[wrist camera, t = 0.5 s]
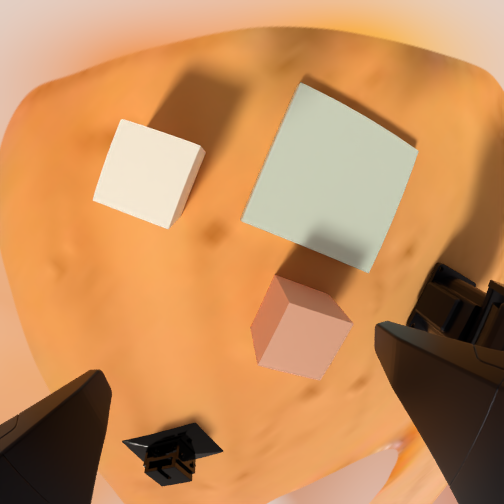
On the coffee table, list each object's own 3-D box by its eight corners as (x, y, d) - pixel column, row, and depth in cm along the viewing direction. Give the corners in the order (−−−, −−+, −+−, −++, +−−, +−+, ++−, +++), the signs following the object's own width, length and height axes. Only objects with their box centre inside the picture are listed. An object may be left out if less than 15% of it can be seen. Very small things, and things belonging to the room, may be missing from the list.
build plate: (411, 151, 20) (418, 151, 19) (362, 269, 22) (368, 273, 21) (296, 86, 18) (300, 82, 17) (240, 218, 20) (241, 221, 19)
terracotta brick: (328, 293, 22) (353, 323, 18) (302, 342, 23) (320, 380, 18) (274, 274, 22) (289, 302, 17) (250, 327, 22) (257, 365, 18)
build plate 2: (206, 406, 25) (205, 443, 20) (241, 447, 27) (245, 481, 22) (107, 435, 25) (97, 466, 21) (148, 471, 27) (143, 500, 22)
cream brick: (205, 152, 19) (200, 145, 14) (181, 215, 20) (168, 229, 15) (144, 130, 18) (121, 118, 13) (121, 193, 19) (92, 200, 14)
